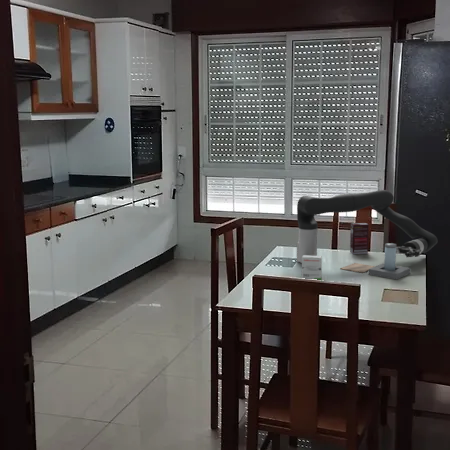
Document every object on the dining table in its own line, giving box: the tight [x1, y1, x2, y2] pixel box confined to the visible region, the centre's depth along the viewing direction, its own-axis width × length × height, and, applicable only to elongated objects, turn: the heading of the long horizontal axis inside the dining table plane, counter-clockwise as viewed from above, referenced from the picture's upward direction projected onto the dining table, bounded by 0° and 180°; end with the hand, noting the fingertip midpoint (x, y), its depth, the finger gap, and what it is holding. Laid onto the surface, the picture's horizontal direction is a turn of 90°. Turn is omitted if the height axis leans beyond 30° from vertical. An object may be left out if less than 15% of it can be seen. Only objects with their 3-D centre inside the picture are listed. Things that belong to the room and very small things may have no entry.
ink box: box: [301, 255, 323, 281], centre depth 277 cm, size 9×5×12 cm, turn 78°
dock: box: [368, 263, 411, 280], centre depth 291 cm, size 14×14×2 cm
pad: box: [339, 262, 375, 274], centre depth 301 cm, size 12×14×1 cm
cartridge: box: [383, 242, 397, 271], centre depth 290 cm, size 5×5×14 cm
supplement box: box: [349, 222, 370, 255], centre depth 332 cm, size 9×5×16 cm, turn 98°
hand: (398, 253), depth 296 cm, fingers open, 8 cm apart
